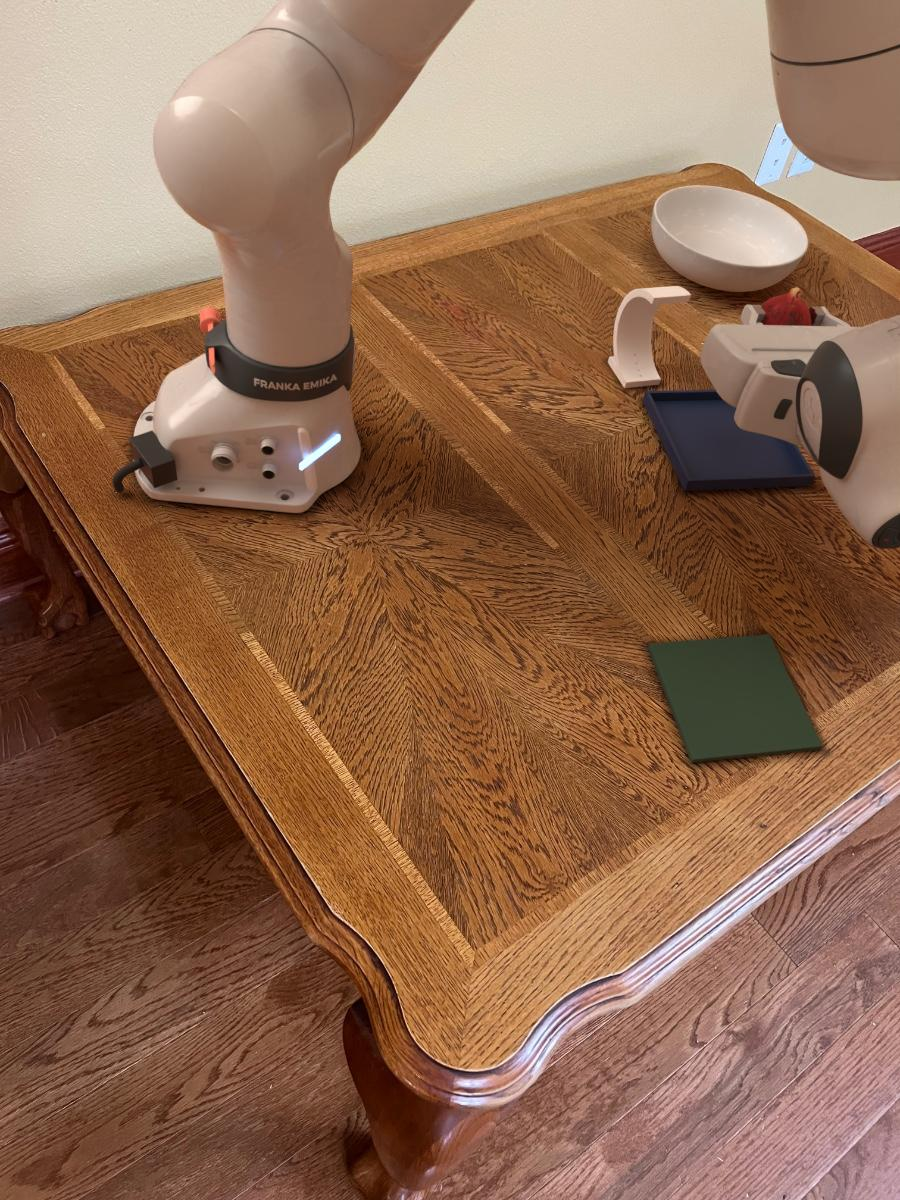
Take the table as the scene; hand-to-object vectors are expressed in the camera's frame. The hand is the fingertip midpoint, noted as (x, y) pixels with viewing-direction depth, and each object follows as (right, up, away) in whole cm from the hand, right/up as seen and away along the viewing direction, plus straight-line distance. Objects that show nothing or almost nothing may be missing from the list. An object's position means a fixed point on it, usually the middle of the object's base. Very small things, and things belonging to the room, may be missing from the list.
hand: (781, 311), depth 93 cm
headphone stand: (-11, -1, +19) cm, 22 cm away
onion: (0, -4, +3) cm, 5 cm away
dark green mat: (-8, -37, -10) cm, 39 cm away
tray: (-2, -11, +13) cm, 17 cm away
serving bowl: (+4, +17, +37) cm, 41 cm away
